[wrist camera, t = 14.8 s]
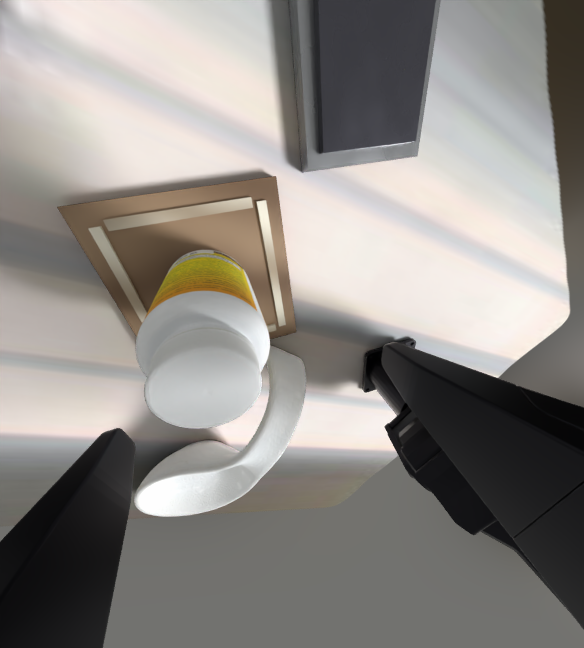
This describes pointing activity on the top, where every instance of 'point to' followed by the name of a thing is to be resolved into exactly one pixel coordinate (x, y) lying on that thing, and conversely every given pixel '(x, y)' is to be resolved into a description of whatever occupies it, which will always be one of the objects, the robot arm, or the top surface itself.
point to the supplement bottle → (203, 343)
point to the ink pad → (361, 78)
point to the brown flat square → (187, 243)
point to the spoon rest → (228, 453)
